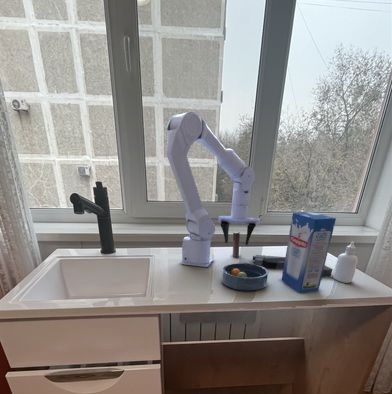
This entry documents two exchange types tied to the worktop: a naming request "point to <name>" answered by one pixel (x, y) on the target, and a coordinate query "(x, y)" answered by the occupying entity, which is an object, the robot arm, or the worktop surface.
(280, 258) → the pistol
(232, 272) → the bead
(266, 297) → the worktop surface
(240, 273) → the bead
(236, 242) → the stirring stick
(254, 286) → the bowl
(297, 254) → the milk carton
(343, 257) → the eye dropper bottle
